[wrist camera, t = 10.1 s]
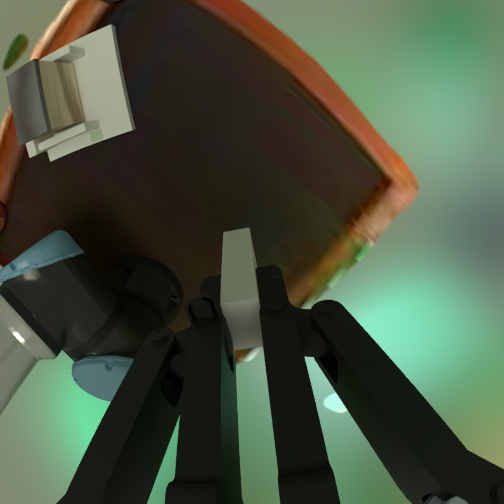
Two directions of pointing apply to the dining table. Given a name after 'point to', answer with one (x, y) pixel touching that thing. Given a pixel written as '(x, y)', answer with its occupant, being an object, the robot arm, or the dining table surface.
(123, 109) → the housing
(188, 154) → the dining table surface
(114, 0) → the beverage can
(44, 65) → the grey and beige block
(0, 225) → the smoothie
